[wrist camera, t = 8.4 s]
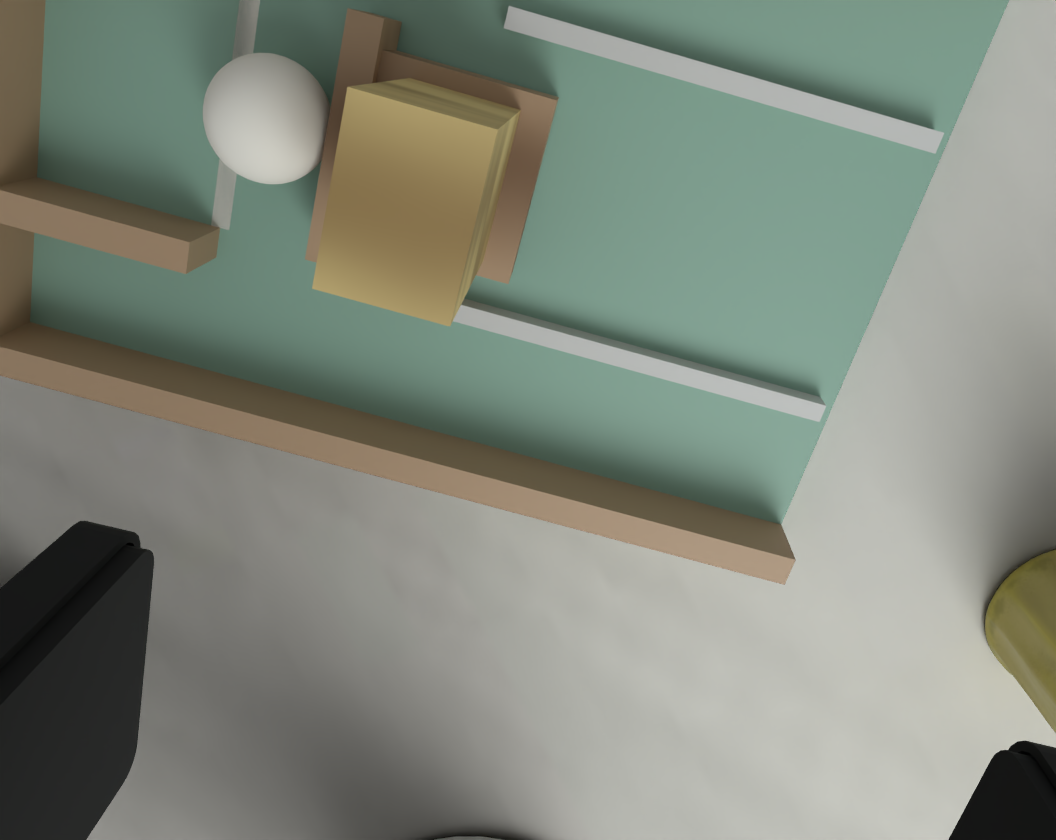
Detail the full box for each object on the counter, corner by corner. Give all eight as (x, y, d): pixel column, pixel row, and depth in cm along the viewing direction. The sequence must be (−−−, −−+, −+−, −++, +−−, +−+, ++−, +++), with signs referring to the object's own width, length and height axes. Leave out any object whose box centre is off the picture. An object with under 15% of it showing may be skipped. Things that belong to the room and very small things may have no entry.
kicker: (507, 292, 29) (474, 388, 21) (327, 242, 29) (221, 320, 20) (566, 69, 26) (556, 77, 18) (368, 12, 26) (266, -8, 18)
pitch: (764, 531, 33) (784, 584, 30) (20, 331, 32) (-46, 363, 29) (1015, -55, 26) (1079, -71, 22) (50, -348, 24) (-35, -411, 21)
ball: (168, 161, 26) (262, 165, 29) (256, 200, 24) (345, 199, 27) (182, 30, 24) (279, 47, 27) (276, 63, 23) (368, 78, 26)
